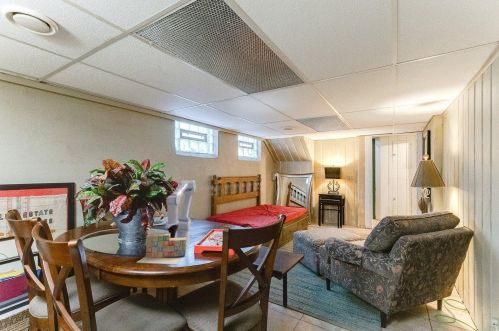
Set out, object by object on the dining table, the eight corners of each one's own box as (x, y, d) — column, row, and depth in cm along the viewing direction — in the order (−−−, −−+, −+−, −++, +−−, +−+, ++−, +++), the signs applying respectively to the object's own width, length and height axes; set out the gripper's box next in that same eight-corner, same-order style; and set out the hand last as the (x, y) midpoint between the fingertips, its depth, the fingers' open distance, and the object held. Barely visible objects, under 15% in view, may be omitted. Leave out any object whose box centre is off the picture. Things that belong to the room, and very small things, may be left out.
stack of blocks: (186, 253, 139) (186, 232, 140) (185, 256, 133) (185, 234, 134) (147, 255, 135) (148, 233, 136) (145, 258, 129) (146, 235, 130)
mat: (144, 257, 131) (144, 256, 131) (182, 259, 129) (182, 258, 129) (136, 262, 123) (136, 262, 124) (175, 264, 121) (175, 264, 121)
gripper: (171, 213, 150) (171, 234, 149) (160, 217, 135) (160, 240, 135) (182, 213, 149) (182, 234, 148) (172, 217, 135) (171, 241, 134)
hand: (172, 237), depth 141 cm, fingers closed
